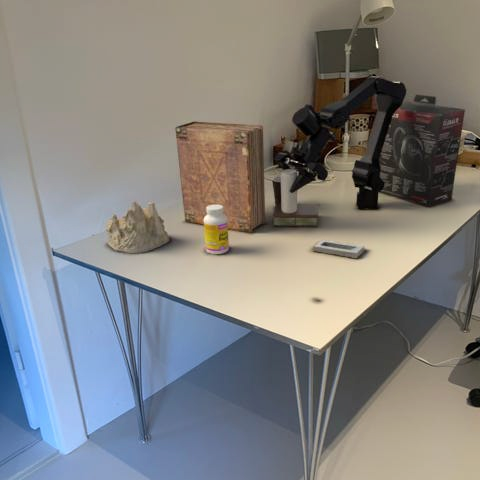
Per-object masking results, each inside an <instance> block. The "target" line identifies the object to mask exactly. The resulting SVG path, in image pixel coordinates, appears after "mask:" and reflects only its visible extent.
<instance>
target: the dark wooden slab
mask: <svg viewBox="0 0 480 480" xmlns="http://www.w3.org/2000/svg"><path fill="white" fill-rule="evenodd" d="M319 213H320V203H297V210H296V211H295V212H293V213H284V212H283V211H282V210H281V204H276V206H274V209H273V212H272V217H273V226H274V227H277V228H280V227H281V228H283V227H284V228H285V227H287V228H291V227H292V228H317V227H318V226H319V225H318V224H319Z"/></svg>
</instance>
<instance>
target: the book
mask: <svg viewBox="0 0 480 480" xmlns="http://www.w3.org/2000/svg"><path fill="white" fill-rule="evenodd" d="M174 130H175V135H176V136H175V138H176V139H175V140H176V147H177V157H178V166H179V176H180V177H179V178H180V186H181V195H182V203H183V204H182V205H183V213H184V215H183V216H184V221H185V222H186V223H190V224H196V225H203V226H204V217H205V216H206V215H207V212H206V207H207V206H209V205H215V204H217V205H222V206H223V214H224V215H225V216H226V217H227V221H228V230H232V231H237V232H243V233H248V234H252V233H253V230H254V229H256V228H257V227H258V226H260V225H265V224H266V198H265V197H266V196H265V195H266V194H265V193H266V191H265V190H266V189H265V158H264V157H265V154H264V153H265V152H264V151H265V150H264V149H265V148H264V146H265V145H264V126H263V125H261V124H244V123H227V122H209V121H191V122H187V123H184V124H181V125H178V126H176V127H175V128H174Z"/></svg>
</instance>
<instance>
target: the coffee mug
mask: <svg viewBox="0 0 480 480" xmlns="http://www.w3.org/2000/svg"><path fill="white" fill-rule="evenodd" d="M280 181H281V175H276V176H274V177H272V178H271V182H272V190H273V197H274V198H273V199H274V205H275V206H276V204H281V189H280V188H279V185H280ZM275 206H274V207H275Z"/></svg>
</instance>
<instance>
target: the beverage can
mask: <svg viewBox="0 0 480 480" xmlns="http://www.w3.org/2000/svg"><path fill="white" fill-rule="evenodd" d="M280 176H281V210H282V211H283V212H284V213H293V212H295V211H296V210H297V204H298V190H297V191H295V192H294V193H291V192H290V189H291V187H292V185H293V183H294V182H295V180H296V178H297V176H298V171H297V169H294V170H293V169H286V170H283V169H282V170H281V171H280Z"/></svg>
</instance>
